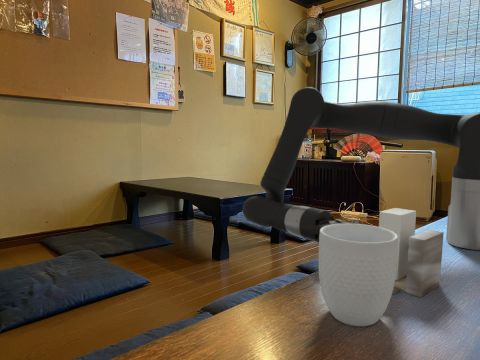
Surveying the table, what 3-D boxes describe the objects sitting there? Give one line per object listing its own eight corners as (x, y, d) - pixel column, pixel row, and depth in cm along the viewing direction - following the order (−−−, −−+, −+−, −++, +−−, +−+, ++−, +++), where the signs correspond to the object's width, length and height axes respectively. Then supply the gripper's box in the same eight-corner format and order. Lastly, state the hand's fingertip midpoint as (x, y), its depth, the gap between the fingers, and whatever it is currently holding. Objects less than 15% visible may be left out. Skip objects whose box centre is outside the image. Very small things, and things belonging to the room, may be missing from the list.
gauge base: (341, 275, 67) (343, 226, 66) (369, 264, 74) (371, 218, 73) (414, 301, 57) (417, 242, 56) (439, 285, 63) (443, 232, 62)
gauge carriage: (366, 278, 63) (369, 214, 62) (392, 266, 69) (395, 207, 68) (387, 285, 60) (391, 218, 59) (412, 272, 66) (416, 211, 65)
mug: (362, 288, 62) (366, 217, 60) (423, 314, 53) (429, 231, 51) (301, 310, 54) (303, 228, 52) (360, 345, 45) (365, 247, 43)
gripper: (289, 211, 77) (360, 226, 63) (326, 204, 85) (394, 216, 72) (289, 243, 77) (358, 265, 64) (325, 233, 86) (392, 251, 72)
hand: (377, 239), depth 68 cm, fingers closed
